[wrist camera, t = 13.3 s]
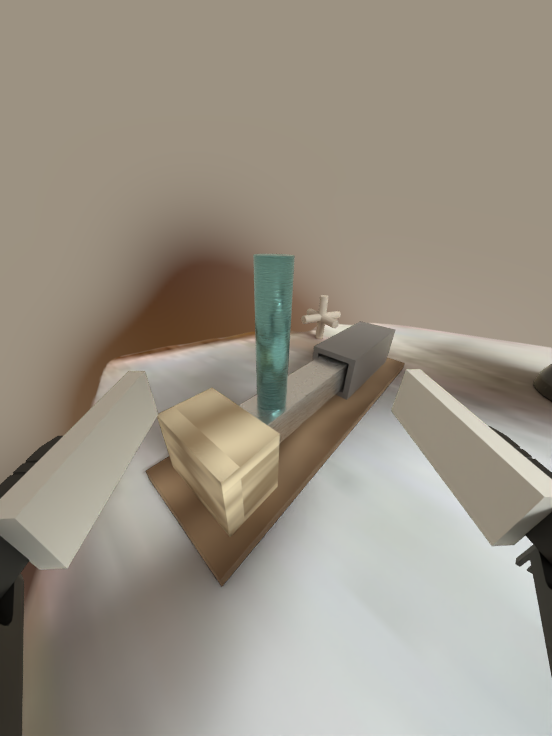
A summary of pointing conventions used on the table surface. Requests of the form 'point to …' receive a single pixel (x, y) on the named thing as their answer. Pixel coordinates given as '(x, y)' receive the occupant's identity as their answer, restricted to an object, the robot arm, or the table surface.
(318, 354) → the outer sleeve
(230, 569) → the base board
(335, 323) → the pipe connector
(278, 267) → the bar with teal cylinder
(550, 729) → the table surface
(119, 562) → the table surface
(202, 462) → the socket block
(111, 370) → the table surface
